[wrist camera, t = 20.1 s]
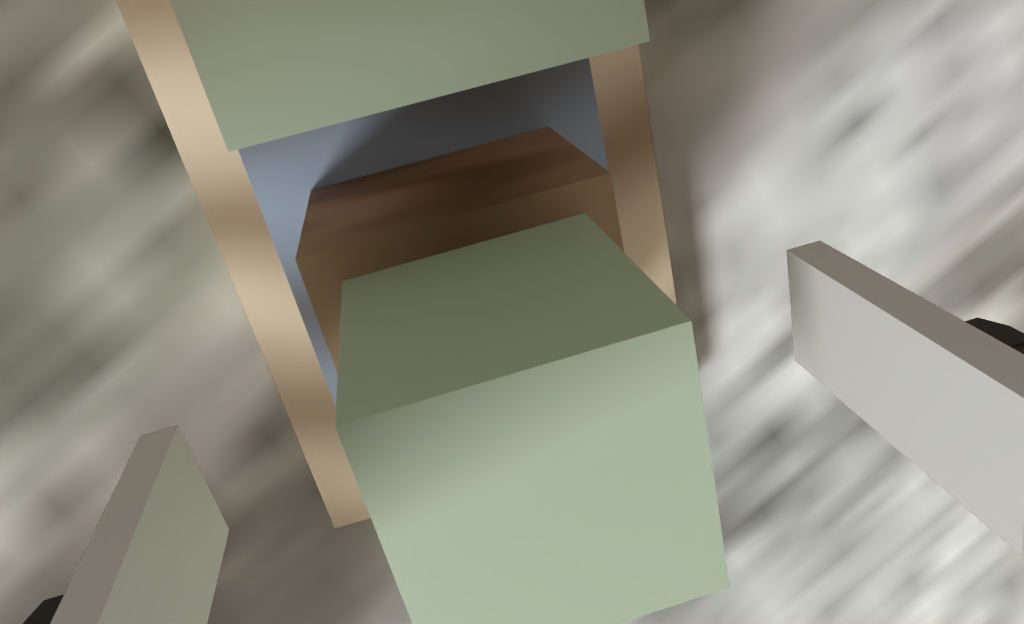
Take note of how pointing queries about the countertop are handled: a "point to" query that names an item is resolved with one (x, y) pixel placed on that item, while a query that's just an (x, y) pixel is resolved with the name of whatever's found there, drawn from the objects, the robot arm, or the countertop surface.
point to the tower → (379, 53)
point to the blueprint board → (366, 150)
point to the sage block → (530, 432)
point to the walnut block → (444, 211)
